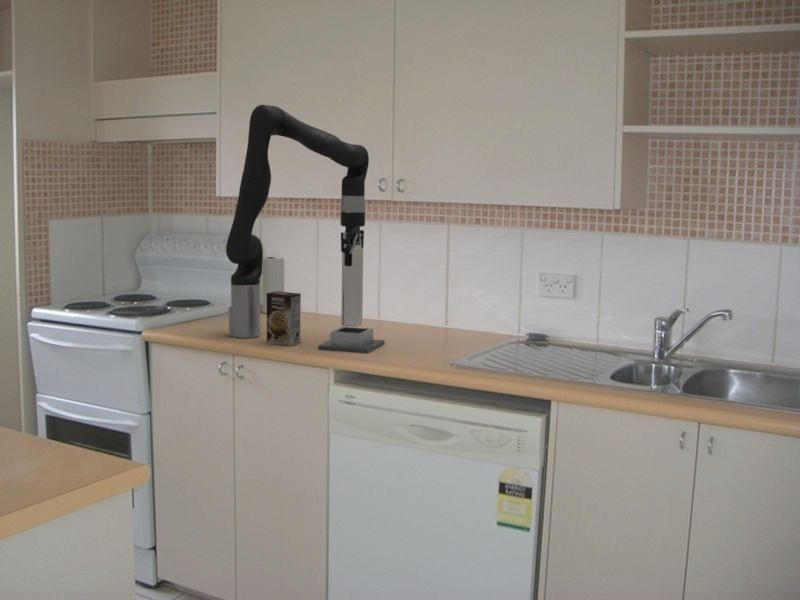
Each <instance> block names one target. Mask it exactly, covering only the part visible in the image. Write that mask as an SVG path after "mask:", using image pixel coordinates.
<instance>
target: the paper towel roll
mask: <svg viewBox="0 0 800 600" xmlns="http://www.w3.org/2000/svg"><path fill="white" fill-rule="evenodd" d="M277 291H279V292H285V258H282V257H281V258H279V257H274V256H268V257H267V256H266V257H263V260H262V313H263V314H265V315H267V293H270V292H277Z"/></svg>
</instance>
